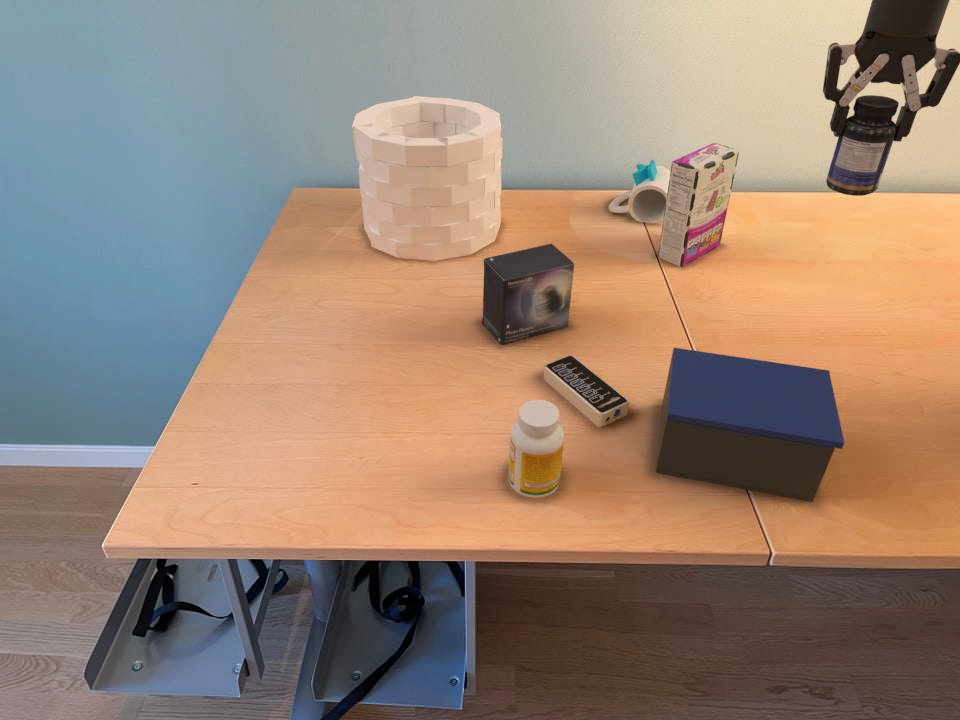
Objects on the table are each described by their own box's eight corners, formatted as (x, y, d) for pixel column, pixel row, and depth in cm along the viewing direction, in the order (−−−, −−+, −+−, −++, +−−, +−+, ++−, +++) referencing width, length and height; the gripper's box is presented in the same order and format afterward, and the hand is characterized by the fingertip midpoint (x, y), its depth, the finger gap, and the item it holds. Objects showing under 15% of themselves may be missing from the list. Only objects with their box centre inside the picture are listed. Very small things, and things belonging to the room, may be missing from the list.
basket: (488, 268, 110) (489, 150, 98) (343, 255, 113) (328, 140, 102) (511, 203, 129) (514, 98, 118) (387, 194, 133) (378, 91, 121)
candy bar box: (694, 237, 118) (713, 141, 108) (720, 247, 115) (742, 149, 105) (654, 258, 112) (670, 159, 102) (680, 270, 109) (700, 168, 99)
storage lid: (827, 376, 75) (829, 370, 74) (842, 449, 66) (844, 443, 65) (672, 353, 78) (673, 347, 78) (666, 419, 69) (668, 413, 69)
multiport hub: (569, 368, 89) (571, 353, 87) (628, 416, 81) (630, 401, 80) (541, 379, 87) (542, 365, 86) (599, 430, 80) (601, 415, 78)
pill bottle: (842, 175, 94) (868, 90, 87) (886, 189, 90) (916, 101, 83) (815, 186, 91) (839, 99, 84) (858, 201, 87) (888, 111, 80)
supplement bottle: (498, 480, 73) (499, 411, 68) (533, 455, 76) (537, 387, 71) (535, 509, 70) (539, 439, 64) (570, 482, 73) (577, 413, 67)
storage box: (801, 429, 80) (820, 375, 75) (811, 504, 71) (835, 448, 66) (661, 406, 83) (672, 353, 78) (655, 475, 74) (666, 420, 69)
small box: (501, 349, 92) (503, 280, 86) (480, 324, 97) (480, 257, 91) (570, 329, 96) (576, 262, 90) (546, 306, 101) (551, 241, 94)
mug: (669, 145, 125) (661, 169, 116) (681, 192, 129) (675, 218, 120) (606, 163, 130) (594, 188, 121) (620, 207, 134) (609, 234, 125)
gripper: (848, -11, 75) (806, 142, 85) (999, -7, 72) (937, 153, 82) (839, -22, 81) (802, 123, 91) (979, -19, 78) (924, 132, 88)
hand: (866, 136), depth 86 cm, fingers closed on pill bottle, 6 cm apart
